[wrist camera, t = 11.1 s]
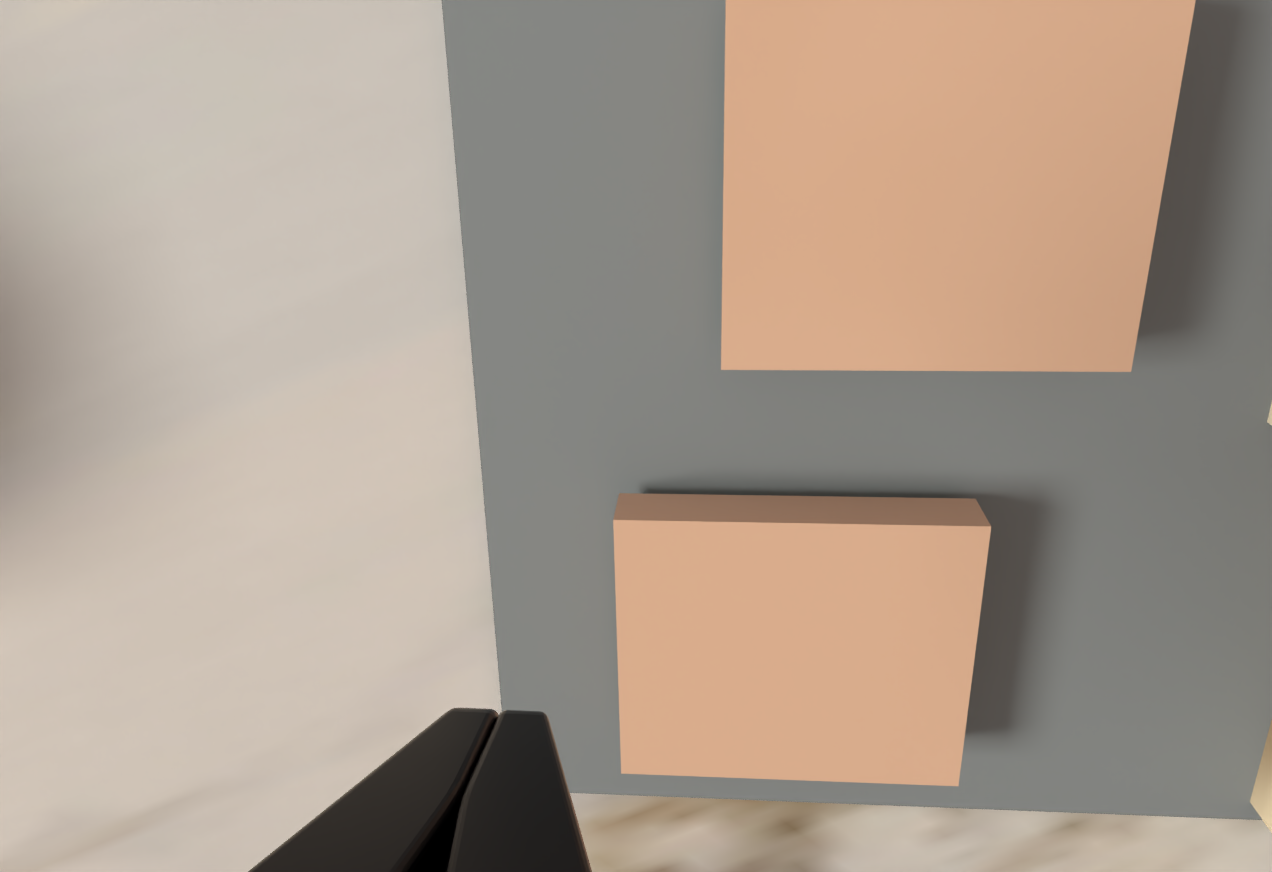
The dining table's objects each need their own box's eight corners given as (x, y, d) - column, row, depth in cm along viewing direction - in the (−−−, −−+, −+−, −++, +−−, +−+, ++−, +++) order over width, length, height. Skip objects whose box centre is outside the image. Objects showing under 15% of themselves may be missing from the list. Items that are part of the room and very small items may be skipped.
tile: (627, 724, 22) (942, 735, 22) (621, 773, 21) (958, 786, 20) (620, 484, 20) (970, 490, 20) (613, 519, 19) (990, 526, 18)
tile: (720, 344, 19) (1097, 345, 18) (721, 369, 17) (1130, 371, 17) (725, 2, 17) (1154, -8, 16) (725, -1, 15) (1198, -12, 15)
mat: (1437, 814, 22) (1449, 827, 22) (511, 778, 24) (508, 790, 23) (1759, -92, 15) (1785, -94, 15) (443, -53, 17) (437, -55, 17)
